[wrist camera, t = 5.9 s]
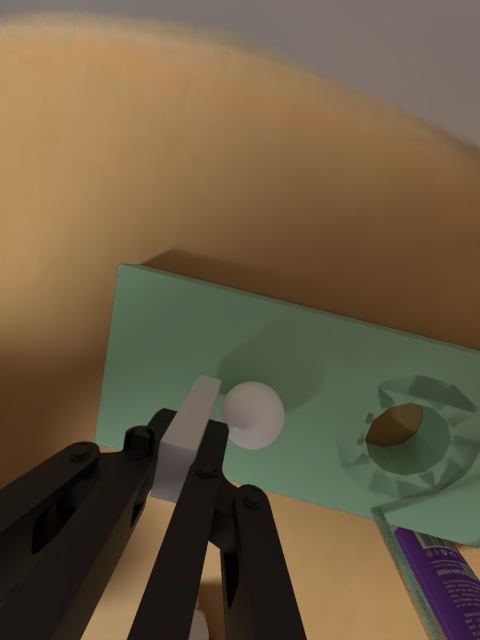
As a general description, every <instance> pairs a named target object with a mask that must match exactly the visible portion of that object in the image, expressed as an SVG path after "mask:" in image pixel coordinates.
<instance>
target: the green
mask: <svg viewBox="0 0 480 640" xmlns="http://www.w3.org/2000/svg"><path fill="white" fill-rule="evenodd" d="M199 374H200V375H204V376H208V377H212V378H216V379H219V380H222V381H221V385H220V389H219V394H218V398H217V402H216V406H215V410H214V415H213V418H212V420H215V421H219V422H221V418H220V412H221V406H222V403H223V400H224V398H225V396H226V395H227V393H228V392H229V391H230V390H231V389H232V388H233V387H235V386H236V385H238V384H240V383H243V382H248V381H256V382H261V383H264V384H266V385H268V386H269V387H271V388H272V389H273V390H274V391H275V392H276V393H277V394H278V396H279V398H280V399H281V401H282V404H283V407H284V415H285V417H284V424H283V428H282V430H281V432H280V434H279V436H278V437H277V438H276V440H274V441H273V442H272V443H271V444H270V445H268V446H266V447H264V448H260V449H246V448H242V447H240V446H238V445H236V444H235V443H234V442H232V441H231V440H230V439H229V438H228V441H227V446H226V451H225V456H224V461H223V466H222V470H223V474H224V476H225V478H226V479H227V480H231V481H234V482H238V483H242V484H245V485H246V484H251V485H255V486H257V487H259V488H260V489H264V490H267V491H271V492H275V493H278V494H282V495H285V496H289V497H293V498H296V499H300V500H304V501H307V502H311V503H315V504H318V505H322V506H326V507H329V508H333V509H337V510H340V511H344V512H347V513H351V514H355V515H358V516H362V517H366V518H369V519H373V520H374V518H373V516H372V514H371V509H372V508H373V507H380V508H381V509H382V511H383V513H384V515H385V517H386V519H387V521H388V523H389V524H391V525H395V526H399V527H402V528H406V529H409V530H413V531H417V532H420V533H424V534H428V535H431V536H435V537H439V538H442V539H446V540H450V541H453V542H457V543H460V544H464V545H468V546H471V547H475V548H479V546H480V350H476V349H472V348H468V347H465V346H461V345H457V344H453V343H449V342H445V341H441V340H437V339H433V338H429V337H425V336H421V335H417V334H413V333H409V332H405V331H401V330H397V329H393V328H389V327H385V326H381V325H377V324H373V323H369V322H366V321H362V320H358V319H354V318H350V317H346V316H342V315H338V314H334V313H330V312H326V311H322V310H318V309H314V308H310V307H306V306H302V305H298V304H294V303H290V302H286V301H282V300H278V299H274V298H270V297H267V296H263V295H259V294H255V293H251V292H247V291H243V290H239V289H235V288H231V287H227V286H223V285H219V284H215V283H211V282H207V281H203V280H199V279H195V278H191V277H187V276H183V275H179V274H175V273H171V272H168V271H164V270H160V269H156V268H152V267H148V266H144V265H139V264H119V266H118V274H117V281H116V288H115V296H114V303H113V310H112V318H111V325H110V332H109V340H108V347H107V354H106V362H105V369H104V376H103V383H102V391H101V398H100V405H99V413H98V420H97V427H96V435H95V442H94V443H96V444H100V445H103V446H107V447H110V448H114V449H118V450H121V451H122V449H123V445H124V438H125V432H126V431H127V430H128V429H130V428H132V427H134V426H140V425H144V426H147V424H148V423H149V422H150V420H151V419H152V417H153V416H154V415H155V413H156V412H157V411H159V410H161V409H163V408H167V409H171V410H174V411H178V410H179V409H180V407H181V405H182V403H183V402H184V400H185V398H186V397H187V395H188V393H189V391H190V390H191V388H192V386H193V385H194V383H195V381H196V380H197V378H198V376H199ZM410 403H414V404H418V405H422V411H423V416H424V417H423V419H422V422H421V424H420V426H419V428H418V431H417V433H415V434H414V435H413V436H411V437H410V438H409V439H407V440H406V441H405V442H403V443H402V444H397V445H392V446H386V447H381V446H378V445H374V444H370V443H366V441H365V438H366V436H367V433H368V431H369V428H370V426H371V423H372V421H373V420H374V419H376V418H377V417H378V416H380V415H381V414H382V413H383V412H385V411H386V410H387V409H388V408H391V407H395V406H400V405H405V404H410Z"/></svg>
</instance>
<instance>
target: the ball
mask: <svg viewBox="0 0 480 640" xmlns="http://www.w3.org/2000/svg"><path fill="white" fill-rule="evenodd" d="M284 417H285V415H284V407H283V404H282V401H281V399H280V398H279V396H278V394H277V393H276V392H275V391H274V390H273V389H272V388H271V387H269V386H268V385H266V384H264V383H261V382H256V381H248V382H243V383H240V384H238V385H236V386H235V387H233V388H232V389H231V390H230V391H229V392H228V393H227V395H226V396H225V398H224V400H223V403H222V406H221V412H220V418H221V422H223V423H226V424H227V425H228V428H229V436H228V438H229V439H230V440H231V441H232V442H234V443H235V444H236V445H238V446H240V447H242V448H246V449H260V448H264V447H266V446H268V445H270V444H271V443H272V442H273V441H274V440H276V438H277V437H278V436H279V434H280V432H281V430H282V428H283V424H284Z"/></svg>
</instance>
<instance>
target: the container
mask: <svg viewBox="0 0 480 640" xmlns="http://www.w3.org/2000/svg"><path fill="white" fill-rule="evenodd" d="M391 529H392V531H393V533H394V535H395V537H396V539H397V541H398V543H399V545H400V547H401V549H402V551H403V553H404V555H405V557H406V559H407V561H408V563H409V565H410V567H411V569H412V571H413V573H414V575H415V577H416V579H417V581H418V583H419V585H420V587H421V589H422V591H423V593H424V595H425V597H426V599H427V601H428V603H429V605H430V607H431V609H432V611H433V613H434V615H435V617H436V619H437V621H438V623H439V625H440V626H441V628H442V630H443V632H444V634H445V636H446V638H447V640H480V581H479V579H478V578H477V576H476V575H475V574H474V572H473V571H472V569H471V568H470V567H469V565H468V564H467V562H466V561H465V559H464V558H463V557H462V555H461V554H460V552H459V551H458V549H457V548H456V547H455V545H454V544H453V542H452V541H450V540H446V539H442V538H439V537H435V536H431V535H428V534H424V533H420V532H417V531H413V530H409V529H406V528H402V527H399V526H395V525H392V526H391Z"/></svg>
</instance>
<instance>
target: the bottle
mask: <svg viewBox="0 0 480 640" xmlns="http://www.w3.org/2000/svg"><path fill="white" fill-rule="evenodd" d="M208 639H209V634H208V627H207V623H206V621H205V619H204V617H203V615H202V613H200V612H199V611H198V610H196V609H195V610H194V615H193V621H192V626H191V631H190V636H189V640H208Z"/></svg>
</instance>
